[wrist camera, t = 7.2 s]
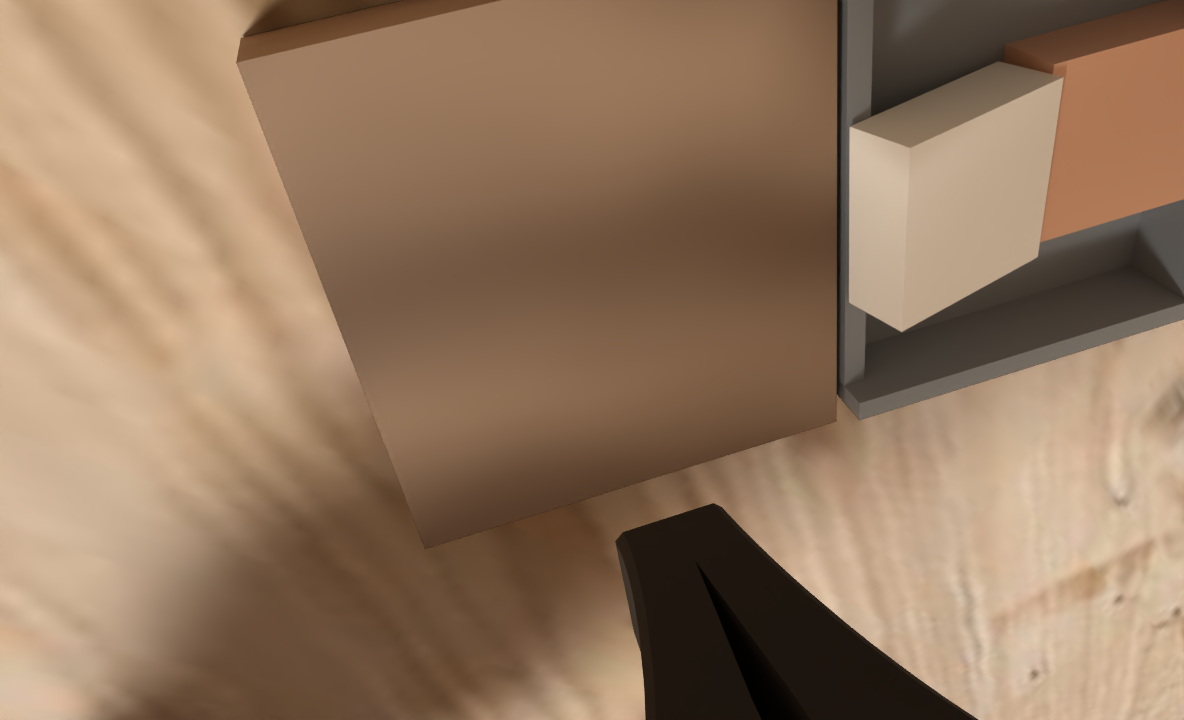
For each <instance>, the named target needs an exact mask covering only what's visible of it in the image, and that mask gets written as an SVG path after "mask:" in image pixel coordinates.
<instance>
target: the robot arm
mask: <svg viewBox="0 0 1184 720" xmlns="http://www.w3.org/2000/svg"><path fill="white" fill-rule="evenodd" d="M615 542H616V546H617V551H618V556H619V561H620V566H621V571H622V575H623V580H624V585H625V590H626V595H627V600H628V604H629V609H630V614H631V619H632V624H633V629H634V633H635V636H636V639H637V642H638V645H639V648H640V651H641V658H642V667H643V677H644V691H645V715H646V720H978V719H976V718H975V717H973V716H972V715H970V714H969V713H967V712H966V711H964V710H963V709H961V708H960V707H958V706H957V705H955V704H954V703H952V702H951V701H949V700H948V699H946V698H945V697H943V696H942V695H941V694H939V693H938V692H936V691H935V690H934V689H932V688H931V687H929V686H928V685H926V684H925V683H924V682H922V681H921V680H919V679H918V678H917V677H915V676H914V675H913V674H911V673H910V672H908V671H907V670H906V669H904V668H903V667H902V666H900V665H899V664H898V663H896V662H895V661H894V660H892V659H891V658H890V657H889V656H887V655H886V654H885V653H883V652H882V651H881V650H879V649H878V648H877V647H875V646H874V645H873V644H871V643H870V642H869V641H868V640H866V639H865V638H864V637H863V636H861V635H860V634H859V633H858V632H856V631H855V630H854V629H853V628H851V627H850V626H849V625H848V624H847V623H845V622H844V621H843V620H842V619H841V618H839V617H838V616H837V615H836V614H835V613H833V612H832V611H831V610H830V609H829V608H828V607H826V606H825V605H824V604H823V603H822V602H820V601H819V600H818V599H817V598H816V597H815V596H813V595H812V594H811V593H810V592H809V591H808V590H806V589H805V588H804V587H803V586H802V585H801V584H800V583H799V582H797V581H796V580H795V579H794V578H793V577H792V576H791V575H790V574H789V573H787V572H786V571H785V570H784V569H783V568H782V567H781V566H780V565H779V564H778V563H777V562H776V561H775V560H774V559H772V558H771V557H770V556H769V555H768V554H767V553H766V552H765V551H764V550H763V549H762V548H761V547H760V546H759V545H758V544H757V543H756V542H755V541H754V540H753V539H752V538H751V537H750V536H749V535H748V534H747V533H746V532H745V531H744V530H743V529H742V528H741V527H740V526H739V525H738V524H737V523H736V522H735V521H734V520H733V519H732V518H731V517H730V516H729V514H728V513H727V512H726V511H725V510H724V509H723V508H722V507H720V506H718V505H716V504H714V503H713V504H710V505H706V506H703V507H700V508H697V509H694V510H691V511H688V512H685V513H681V514H678V515H675V516H672V517H669V518H666V519H663V520H660V521H657V522H653V523H650V524H647V525H644V526H641V527H638V528H635V529H632V530H629V531H625V532H623V533H622V534H621V535H620V536H619V538H618V539H617V540H616V541H615Z"/></svg>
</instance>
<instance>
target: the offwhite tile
mask: <svg viewBox="0 0 1184 720" xmlns="http://www.w3.org/2000/svg"><path fill="white" fill-rule="evenodd" d="M1063 79H1064V77H1062V76H1058V75H1053V74H1049V73H1045V72H1041V71H1037V70H1033V69H1028V68H1024V67H1020V66H1016V65H1012V64H1008V63H1003V62H999V61H998V62H995V63H993V64H991V65H989V66H986V67H984V68H982V69H979V70H977V71H975V72H973V73H970V74H968V75H966V76H964V77H961V78H959V79H957V80H954V81H952V82H950V83H948V84H945V85H943V86H941V87H938V88H936V89H934V90H932V91H929V92H927V93H925V94H923V95H920V96H918V97H916V98H913V99H911V100H909V101H907V102H904V103H902V104H900V105H897V106H895V107H893V108H891V109H888V110H886V111H884V112H882V113H879V114H877V115H875V116H872V117H870V118H868V119H866V120H863V121H861V122H859V123H857V124H854V125H852V126H850V143H849V303H851V304H852V305H854V306H856V307H858V308H860V309H861V310H863V311H865V312H867V313H869V314H870V315H872V316H874V317H876V318H878V319H879V320H881V321H883V322H885V323H887V324H888V325H890V326H892V327H894V328H896V329H897V330H899V331H901V332H903V331H905V330H906V329H908V328H910V327H912V326H914V325H915V324H917V323H919V322H921V321H923V320H924V319H926V318H928V317H930V316H932V315H934V314H935V313H937V312H939V311H941V310H943V309H944V308H946V307H948V306H950V305H952V304H954V303H955V302H957V301H959V300H961V299H963V298H964V297H966V296H968V295H970V294H972V293H973V292H975V291H977V290H979V289H981V288H983V287H984V286H986V285H988V284H990V283H992V282H993V281H995V280H997V279H999V278H1001V277H1003V276H1004V275H1006V274H1008V273H1010V272H1012V271H1013V270H1015V269H1017V268H1019V267H1021V266H1022V265H1024V264H1026V263H1028V262H1030V261H1032V260H1033V259H1035V258H1037V257H1038V252H1039V245H1040V238H1041V231H1042V224H1043V217H1044V210H1045V203H1046V196H1047V189H1048V183H1049V176H1050V169H1051V162H1052V155H1053V148H1054V141H1055V134H1056V127H1057V120H1058V114H1059V107H1060V100H1061V93H1062V86H1063Z"/></svg>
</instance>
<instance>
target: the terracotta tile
mask: <svg viewBox="0 0 1184 720" xmlns="http://www.w3.org/2000/svg"><path fill="white" fill-rule="evenodd" d="M1003 63H1008V64H1012V65H1016V66H1020V67H1024V68H1028V69H1033V70H1037V71H1041V72H1045V73H1049V74H1053V75H1058V76H1062V77H1064V79H1063V86H1062V93H1061V100H1060V107H1059V114H1058V120H1057V127H1056V134H1055V141H1054V148H1053V155H1052V162H1051V169H1050V176H1049V183H1048V189H1047V196H1046V203H1045V210H1044V217H1043V224H1042V231H1041V238H1040V242H1043V241H1046V240H1050V239H1053V238H1056V237H1060V236H1063V235H1066V234H1070V233H1073V232H1076V231H1080V230H1083V229H1086V228H1090V227H1093V226H1096V225H1100V224H1103V223H1106V222H1109V221H1113V220H1116V219H1119V218H1123V217H1126V216H1129V215H1133V214H1136V213H1139V212H1143V211H1146V210H1149V209H1153V208H1156V207H1159V206H1163V205H1166V204H1169V203H1173V202H1176V201H1179V200H1183V199H1184V0H1167V1H1163V2H1159V3H1155V4H1152V5H1148V6H1144V7H1141V8H1137V9H1133V10H1130V11H1126V12H1122V13H1118V14H1115V15H1111V16H1107V17H1104V18H1100V19H1096V20H1093V21H1089V22H1085V23H1082V24H1078V25H1074V26H1070V27H1067V28H1063V29H1059V30H1056V31H1052V32H1048V33H1045V34H1041V35H1037V36H1033V37H1030V38H1026V39H1022V40H1019V41H1015V42H1011V43H1008V44H1005V52H1004V62H1003Z"/></svg>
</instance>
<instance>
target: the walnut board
mask: <svg viewBox="0 0 1184 720" xmlns="http://www.w3.org/2000/svg"><path fill="white" fill-rule="evenodd" d="M236 63H237V66H238V68H239V71H240V74H241V76H242V79H243V81H244V84H245V87H246V89H247V92H248V94H249V97H250V99H251V102H252V105H253V107H254V110H255V112H256V115H257V117H258V120H259V123H260V125H261V128H262V130H263V133H264V135H265V138H266V141H267V143H268V146H269V148H270V151H271V154H272V156H273V159H274V161H275V164H276V166H277V169H278V172H279V174H280V177H281V179H282V182H283V184H284V187H285V190H286V192H287V195H288V197H289V200H290V202H291V205H292V208H293V210H294V213H295V215H296V218H297V221H298V223H299V226H300V228H301V231H302V233H303V236H304V239H305V241H306V244H307V246H308V249H309V251H310V254H311V257H312V259H313V262H314V264H315V267H316V269H317V272H318V275H319V277H320V280H321V282H322V285H323V288H324V290H325V293H326V295H327V298H328V300H329V303H330V306H331V308H332V311H333V313H334V316H335V318H336V321H337V324H338V326H339V329H340V331H341V334H342V337H343V339H344V342H345V344H346V347H347V349H348V352H349V355H350V357H351V360H352V362H353V365H354V367H355V370H356V373H357V375H358V378H359V380H360V383H361V385H362V388H363V391H364V393H365V396H366V398H367V401H368V404H369V406H370V409H371V411H372V414H373V416H374V419H375V422H376V424H377V427H378V429H379V432H380V434H381V437H382V440H383V442H384V445H385V447H386V450H387V452H388V455H389V458H390V460H391V463H392V465H393V468H394V471H395V473H396V476H397V478H398V481H399V483H400V486H401V489H402V491H403V494H404V496H405V499H406V501H407V504H408V507H409V509H410V512H411V514H412V517H413V519H414V522H415V525H416V527H417V530H418V532H419V535H420V538H421V540H422V543H423V545H424V548H425V549H427V548H430V547H433V546H436V545H440V544H443V543H446V542H449V541H453V540H456V539H459V538H462V537H465V536H469V535H472V534H475V533H478V532H482V531H485V530H488V529H491V528H494V527H498V526H501V525H504V524H507V523H511V522H514V521H517V520H520V519H523V518H527V517H530V516H533V515H536V514H540V513H543V512H546V511H549V510H552V509H556V508H559V507H562V506H565V505H569V504H572V503H575V502H578V501H581V500H585V499H588V498H591V497H594V496H598V495H601V494H604V493H607V492H610V491H614V490H617V489H620V488H623V487H627V486H630V485H633V484H636V483H639V482H643V481H646V480H649V479H652V478H656V477H659V476H662V475H665V474H668V473H672V472H675V471H678V470H681V469H685V468H688V467H691V466H694V465H697V464H701V463H704V462H707V461H710V460H714V459H717V458H720V457H723V456H726V455H730V454H733V453H736V452H739V451H743V450H746V449H749V448H752V447H755V446H759V445H762V444H765V443H768V442H771V441H775V440H778V439H781V438H784V437H788V436H791V435H794V434H797V433H800V432H804V431H807V430H810V429H813V428H817V427H820V426H823V425H826V424H829V423H833V422H836V396H837V0H402V1H398V2H393V3H389V4H385V5H381V6H376V7H372V8H368V9H363V10H359V11H355V12H350V13H346V14H342V15H338V16H333V17H329V18H325V19H320V20H316V21H312V22H307V23H303V24H299V25H295V26H290V27H286V28H282V29H277V30H273V31H269V32H264V33H260V34H256V35H252V36H247V37H243V38H241V41H240V46H239V51H238V56H237V62H236Z"/></svg>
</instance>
